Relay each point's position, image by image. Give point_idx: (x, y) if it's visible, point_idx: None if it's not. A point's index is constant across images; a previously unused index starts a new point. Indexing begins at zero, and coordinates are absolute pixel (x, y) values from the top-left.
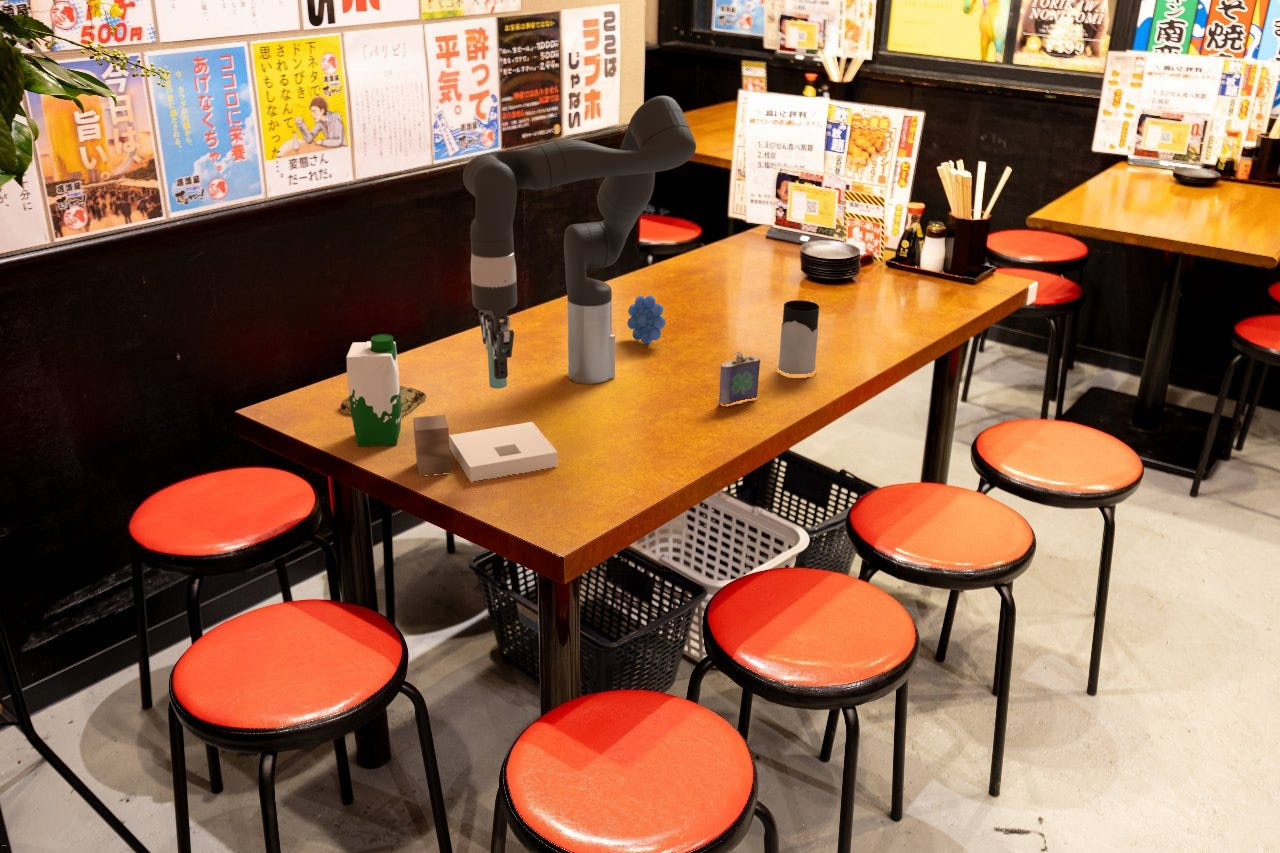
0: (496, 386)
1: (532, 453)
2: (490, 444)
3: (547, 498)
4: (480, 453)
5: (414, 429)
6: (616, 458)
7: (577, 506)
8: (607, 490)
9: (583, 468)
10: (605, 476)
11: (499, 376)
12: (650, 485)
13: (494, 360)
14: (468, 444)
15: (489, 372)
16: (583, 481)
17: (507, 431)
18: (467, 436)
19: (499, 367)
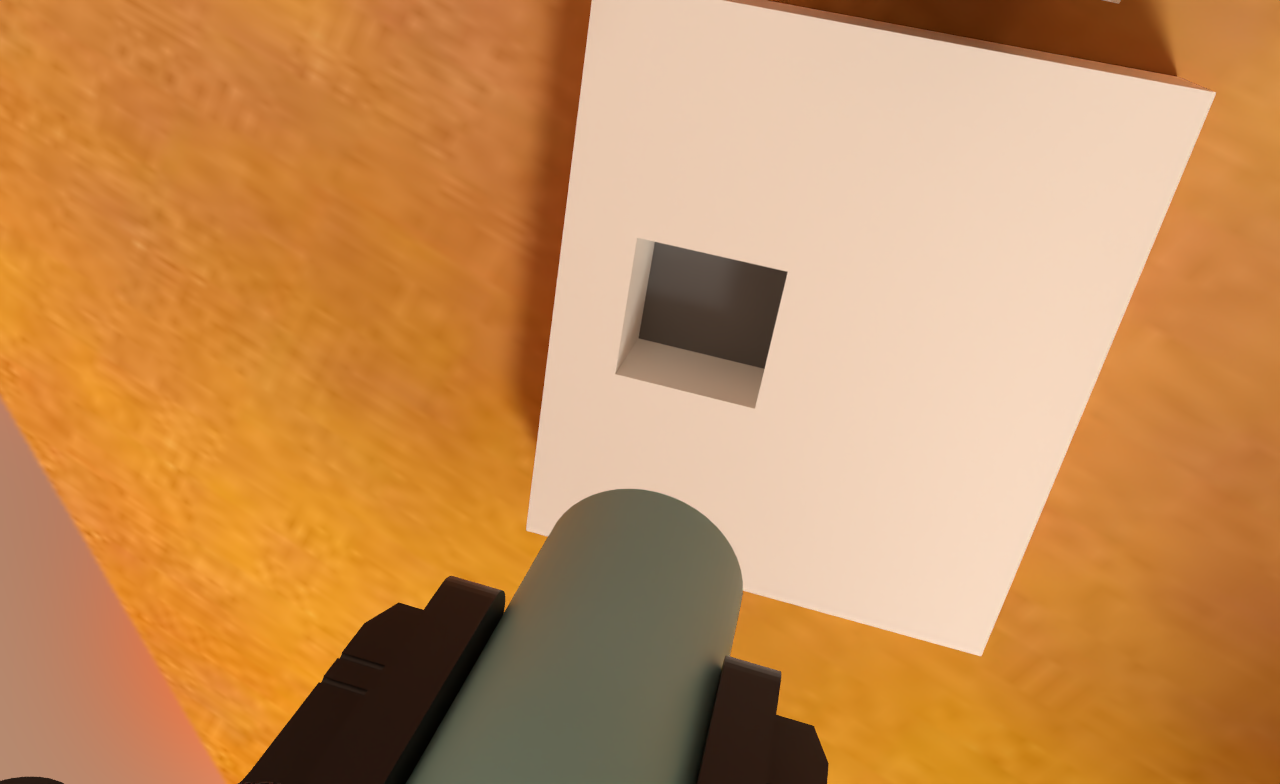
0: (552, 529)
1: (576, 419)
2: (844, 279)
3: (275, 259)
4: (754, 149)
5: None
6: None
7: (160, 330)
8: (252, 514)
9: (485, 562)
10: (372, 584)
11: (389, 616)
12: (233, 658)
13: (321, 771)
14: (947, 147)
15: (592, 604)
16: (367, 487)
17: (955, 472)
18: (1081, 208)
19: (305, 712)
